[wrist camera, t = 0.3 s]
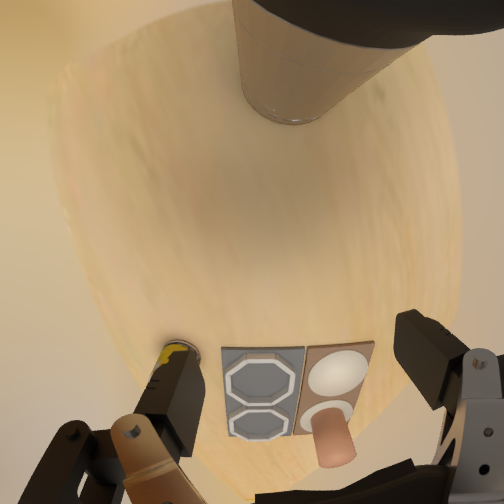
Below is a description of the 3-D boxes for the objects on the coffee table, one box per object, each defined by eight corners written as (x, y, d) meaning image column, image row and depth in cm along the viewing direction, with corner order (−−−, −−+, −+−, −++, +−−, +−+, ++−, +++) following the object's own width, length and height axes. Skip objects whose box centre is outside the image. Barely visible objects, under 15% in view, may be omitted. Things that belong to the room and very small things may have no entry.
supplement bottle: (208, 352, 30) (196, 403, 22) (189, 374, 31) (176, 423, 23) (173, 331, 30) (152, 379, 21) (156, 355, 31) (135, 401, 23)
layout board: (221, 347, 30) (213, 401, 22) (373, 341, 30) (402, 386, 22) (229, 434, 35) (225, 479, 27) (344, 427, 35) (357, 468, 27)
